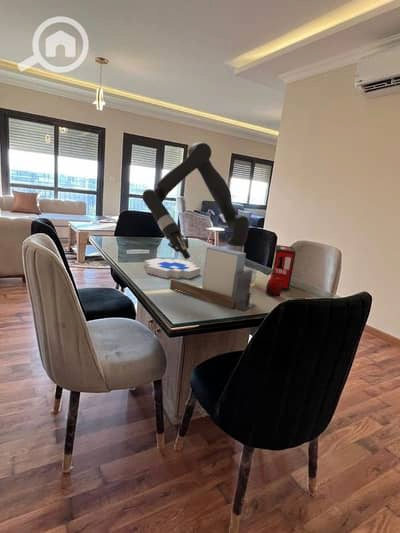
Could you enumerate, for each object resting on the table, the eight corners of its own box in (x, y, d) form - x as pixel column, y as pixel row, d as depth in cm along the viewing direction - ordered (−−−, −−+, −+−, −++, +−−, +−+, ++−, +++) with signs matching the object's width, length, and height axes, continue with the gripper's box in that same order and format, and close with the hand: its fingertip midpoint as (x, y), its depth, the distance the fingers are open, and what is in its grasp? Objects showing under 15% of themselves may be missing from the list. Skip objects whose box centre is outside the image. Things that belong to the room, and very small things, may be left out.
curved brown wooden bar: (186, 283, 151) (187, 275, 150) (249, 302, 134) (250, 293, 133) (170, 288, 141) (170, 279, 140) (235, 309, 123) (237, 299, 122)
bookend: (244, 301, 134) (249, 269, 131) (256, 304, 131) (261, 272, 128) (229, 308, 124) (234, 274, 120) (242, 312, 121) (247, 277, 118)
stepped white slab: (206, 265, 176) (180, 274, 152) (206, 272, 177) (180, 282, 153) (165, 256, 188) (134, 263, 164) (164, 262, 189) (134, 270, 165)
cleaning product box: (269, 280, 174) (275, 244, 170) (286, 283, 172) (292, 247, 168) (270, 288, 158) (276, 249, 154) (288, 291, 157) (295, 252, 152)
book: (209, 292, 140) (214, 246, 136) (238, 302, 132) (246, 253, 128) (200, 295, 135) (206, 247, 130) (231, 305, 127) (238, 254, 122)
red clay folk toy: (283, 297, 146) (289, 265, 143) (272, 298, 143) (278, 266, 139) (272, 292, 153) (277, 261, 149) (261, 293, 149) (266, 262, 146)
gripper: (164, 222, 138) (184, 255, 135) (182, 221, 149) (201, 251, 146) (154, 232, 142) (173, 264, 139) (172, 231, 153) (191, 260, 150)
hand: (188, 258), depth 142 cm, fingers closed
